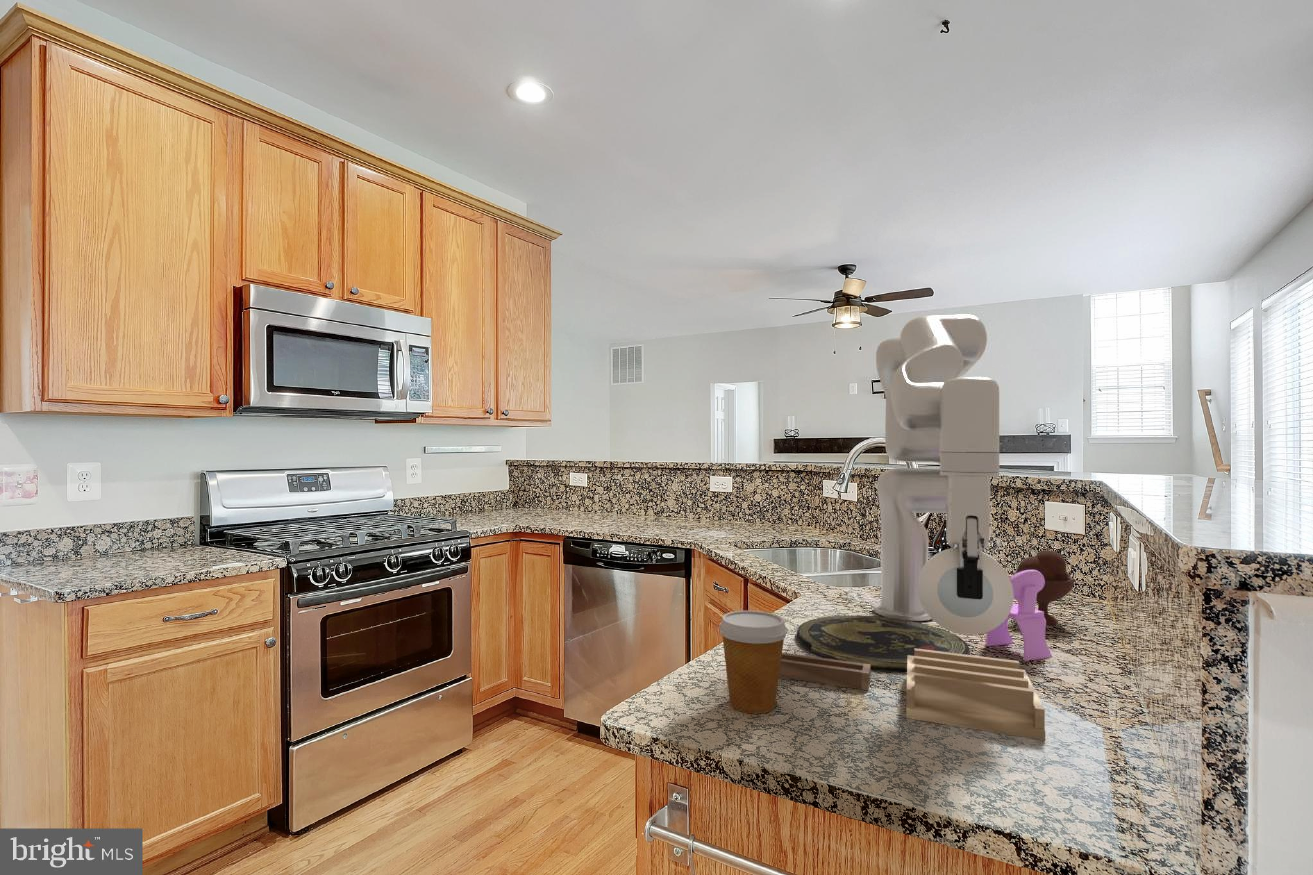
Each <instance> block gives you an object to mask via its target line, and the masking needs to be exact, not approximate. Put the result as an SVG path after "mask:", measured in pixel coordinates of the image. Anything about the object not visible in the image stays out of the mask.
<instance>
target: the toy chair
mask: <svg viewBox="0 0 1313 875" xmlns="http://www.w3.org/2000/svg"><path fill="white" fill-rule="evenodd" d="M1009 578H1010V580H1011V583H1012V587H1013V593H1014V600H1016V601H1017V603H1014V602H1013V605H1012V609H1011V611H1010V613H1009V615H1008V617H1007V618H1006V619H1005V621H1004V622H1003V623H1002V624H1001V625H999V626H998V627H997V628H995V629H993V630H991V631H989V632H986V637H985V638H986V640H985V646H986V647H991V646H1000V645H1001V646H1002V645H1010V644H1014V641H1013V639H1012V637H1011V635H1010V632H1009V631H1010V630H1009V628H1008V624H1009V623H1008V622H1009V619H1011V620H1013V621H1014V622H1016V624H1017V627H1018V628H1019V630H1020V632H1021V635H1022V638H1023V657H1022V660H1023V661H1032V660H1038V659H1039V660H1041V659H1047V658H1048V659H1049V658H1053V655H1052V653H1051V651H1050V648H1049V646H1048V644H1047V641H1046V627H1047V625H1046V619H1045V618H1044V612H1042V611H1039V610H1038V609H1036V607H1037V606H1036V605H1037V604H1036V603H1037V601H1036V598H1037V593H1038V592H1039V591H1040V590H1042V588H1043V587H1044V584H1045V579H1044V577H1043V575H1042V574H1041V573H1040V572H1039V571H1037V570H1025V571H1021V572H1019V573H1017V574H1015V575H1013V574H1012V575H1011V577H1010V576H1009Z"/></svg>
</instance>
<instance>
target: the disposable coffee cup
mask: <svg viewBox="0 0 1313 875" xmlns="http://www.w3.org/2000/svg"><path fill="white" fill-rule="evenodd" d="M721 618H722V619H721V622H720V623H719V625H718V629H719V631H720V634H721V637H722V642H723V643H722V644H723V653H724V663H725V670H726V672H725V673H726V680H727V690H728V696H729V705H730V706H731V707H732V708H733V709H735V710H737V711H739V712H742V713H746V714H752V715H753V714H754V715H756V714H766V713H769V712H772V711H773V710H774V709H775V708H776V704H777V703H776V702H777V693H778V687H779V680H780V677H779V673H780V666H781V657H782V653H783V648H784V641H785V638H786V636H787V634H788V632H789V631H788V628H787V627H786V624H785V620H784V619H785V618H784V617H782V616H780V615H778V614H775V613H772V612H765V611H761V610H760V611H759V610H735V611H731V612H727V613H725V614H723V615H722V617H721Z"/></svg>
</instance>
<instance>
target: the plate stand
mask: <svg viewBox="0 0 1313 875" xmlns="http://www.w3.org/2000/svg"><path fill="white" fill-rule="evenodd" d="M870 665H871V664H864V663H856V662H849V661H841V660H834V659H827V658H822V657H819V656H810V655H804V654H798V653H797V654H795V653H787V652H782V657H781V666H780V673H779V678H784V679H791V680H795V681H797V680H798V681H804V682H810V683H817V684H824V685H830V686H838V687H842V688H850V689H857V690H863V691H869V689H870V685H871V669H870Z"/></svg>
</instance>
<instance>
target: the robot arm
mask: <svg viewBox="0 0 1313 875" xmlns="http://www.w3.org/2000/svg"><path fill="white" fill-rule="evenodd" d="M987 341H988V334H987V329H986V327H985V324H984V323H983V321H982V319H980V318H978V316H975V315H972V314H946V315H945V314H944V315H941V314H940V315H936V314H935V315H924V316H918V317H915V318H913V319H911V320H909V321H908V322H907V323H905V325H904V326H903V327H902V329H901V331H900V336H898V337H892V338H888V339H885V340H883V341H881V342H880V343H879V345H878V346H877V348H876V353H875V363H876V369H877V370H876V371H877V374H878V378H879V381H880V383H881V387H882V389H883V393H884V396H885V421H884V422H885V430H884V433H885V435H884V438H885V439H884V441H885V452H886V454H887V457H888V458H889V459H891V460H893V461H896V462H901V463H937V464H939V468H921V467H894V468H890V469H886V470H884V471H883V472H881V473H880V474H879V476H878V478H877V485H876V489H877V491H876V492H877V497H878V505H879V513H880V531H881V532H880V533H881V534H880V535H881V536H880V537H881V538H880V539H881V540H880V542H881V545H880V548H881V549H880V550H881V551H880V602H876V603H874V604H873V612H874V613H876V614H877V615H879V616H880V617H887V618H894V619H901V620H906V621H912V622H923V621H926V622H927V621H930V620H932V619H931V617H930V616H929V615H928V614H927V612H926V611H925V609H924V607H923V605H922V603H921V600H920V597H919V589H918V584H919V577H920V574H921V571H922V569H923V567H924V565H925V564H926V563H927V561H928V560H929V534H928V531H927V528H926V527H925V526H924V524H923V523H922V522H921V521H920V520H919V519H918V518H917V517H916V514H920V513H921V514H922V513H930V514H934V513H935V514H946V518H945V519H946V520H945V521H946V522H945V523H946V524H945V526H946V527H945V528H946V529H945V532H946V533H945V534H946V535H945V539H946V542H947V544H948V546H950V548H955V545H956V547H959V568H957V596H958V597H959V598H969V599H982V598H983V570H981V556H982V552H983V550H985V549H986V548H988V547H989V539H990V526H991V525H990V523H991V522H990V520H991V478H993V477H994V478H995V477H996V478H997V477H1000V387H999V384H998V382H997V381H996V380H995V379H993V378H989V377H983V376H982V377H981V376H979V377H978V376H973V377H972V376H967V377H963V376H964V375H965V374H967V373H968V371H969V370H971V368H972V367H974V366H975V364H976V363H978V361H979V360H980V359H981V358H982V356H983V354H984V353H985V350H986V347H987Z"/></svg>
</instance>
